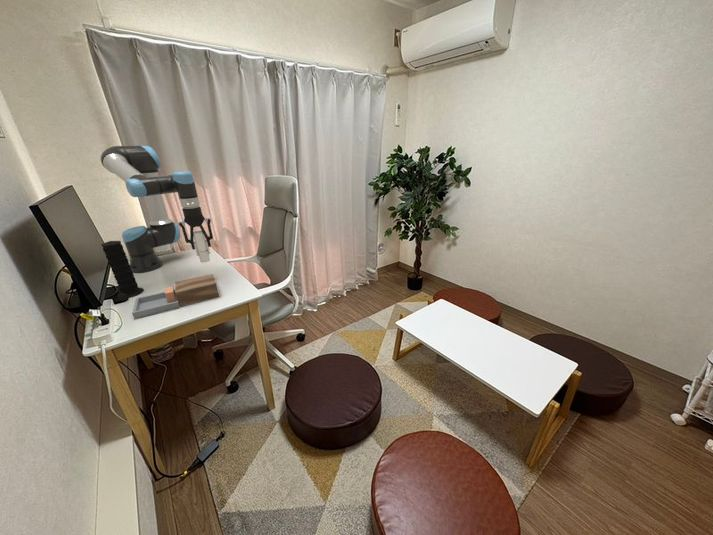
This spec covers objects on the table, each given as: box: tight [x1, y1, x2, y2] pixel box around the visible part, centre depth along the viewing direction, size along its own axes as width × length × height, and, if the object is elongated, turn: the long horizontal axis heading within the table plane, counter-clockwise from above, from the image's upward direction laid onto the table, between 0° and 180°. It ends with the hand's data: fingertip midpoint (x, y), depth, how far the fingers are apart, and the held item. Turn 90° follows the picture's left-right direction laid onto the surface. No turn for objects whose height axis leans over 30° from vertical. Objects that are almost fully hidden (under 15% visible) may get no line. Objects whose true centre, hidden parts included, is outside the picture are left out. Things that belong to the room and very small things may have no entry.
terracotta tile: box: [164, 286, 177, 303], centre depth 122 cm, size 6×6×3 cm
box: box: [131, 291, 181, 320], centre depth 121 cm, size 14×16×3 cm
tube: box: [193, 230, 211, 264], centre depth 135 cm, size 4×4×15 cm
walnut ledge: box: [174, 273, 220, 308], centre depth 127 cm, size 12×16×7 cm
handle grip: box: [100, 240, 145, 300], centre depth 127 cm, size 10×26×10 cm
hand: (203, 254), depth 136 cm, fingers closed on tube, 4 cm apart
